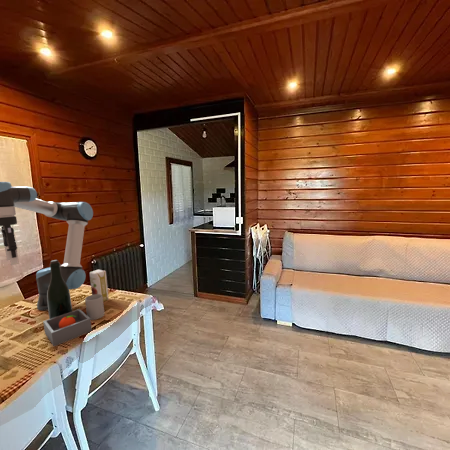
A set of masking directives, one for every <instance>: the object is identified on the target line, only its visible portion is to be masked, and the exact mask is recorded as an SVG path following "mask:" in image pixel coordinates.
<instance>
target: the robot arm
mask: <svg viewBox="0 0 450 450" xmlns="http://www.w3.org/2000/svg"><path fill="white" fill-rule="evenodd" d="M37 197H38V192H37V191H36V188H34V187H32V186H12V183H11V182H10V181H0V227H1V229H0V231H1V234H2V239H3V246H4V251H5V257H6V261H10V266H15V265H20V263H19V256H18V250H17V249H18V246H17V242H16V237H15V233H14V232H15V230H14V229H15V228H14V227H12V225H13V226H14V225H17V223H18V220H17V219H18V218H17V216H16V213H17V212H16V208H17V209H22V210H25V211H29V212H33V213H39V214H43V215H44V216H45V217H46V218H47V217H48V218H52V219H56V220H60V221H66V223H67V224H68V229H67V237H66V243H65V250H64V258H63V263H62V264H60V270H61V274H62V277H63V279H64V281H65V283H66V284H67V286H68V288H69V291H70V290H77V289H79V288H81V287H82V286H83V284H84V282H85V281H86V276H87V275H86V272H85V270H84V269H83V266H82V264H81V257H82V249H83V243H84V241H83V240H84V235H85V233H84V232H85V227H86V226H87V225H88V224H89V221H91V220H92V219H93V216H94V210H93V208H92V206H91V204H90V203H88V202H86V201H72V202H70V201H69V202H54V201H45V200H42V199H39V198H37ZM35 276H36V278H35V280H36V285H37V289H38V298H37V304H36V308H37V310H39V311H48V301H47V291H48V287H49V284H50V280H51V268H50V266H49V267H46V268H42V269H40V270H38V271H37V272H36V274H35Z"/></svg>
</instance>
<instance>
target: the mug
mask: <svg viewBox="0 0 450 450" xmlns="http://www.w3.org/2000/svg"><path fill="white" fill-rule="evenodd" d="M84 303H85V310H86V315H87V316H88V317H89V318H90V319H91V321H94V320H98V319H101V318H103V317H105V308H104V307H105V306H104V302H103V297H102V295H101V294H95V295H92V294H91V295H89V296H86V297H85V298H84Z"/></svg>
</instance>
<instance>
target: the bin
mask: <svg viewBox="0 0 450 450" xmlns="http://www.w3.org/2000/svg"><path fill="white" fill-rule="evenodd" d="M66 316H72V317H73V318H74V319H75V321H76V323H75V324H72V325H69V326H66V327H64V328H61V329H60V328H59V322H60V321H61V319H62V318H64V317H66ZM75 316H76V317H75ZM42 322H43V329H44V330H43V331H44V335H45V336H46V337H47V339H48V341H50V343H51V345H52V347H56V346H58V345H61V344H64V343H67V342H68V341H70V340H74V339H75V338H78V337H80V336H83V335H85V334H88V333H90V331H91V332H93V329H92V320H91V319H90V318H89V317H88V316H87V313H85V312H84V311H83V310H82V309H80V308H78V309H75V310H72V312H69V313H66V314H63V315H60V316H57V317H54V318H51V319H49V318H48V319H45V320H43V321H42Z"/></svg>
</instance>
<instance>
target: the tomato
mask: <svg viewBox="0 0 450 450" xmlns="http://www.w3.org/2000/svg"><path fill="white" fill-rule="evenodd" d="M75 317H76V316H75ZM75 323H76V321H75V319H74V318H73V317H72V316H66V317H64V318H62V319H61V321H60V322H59V328H60V329H61V328H64V327H66V326H69V325H72V324H75Z"/></svg>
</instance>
